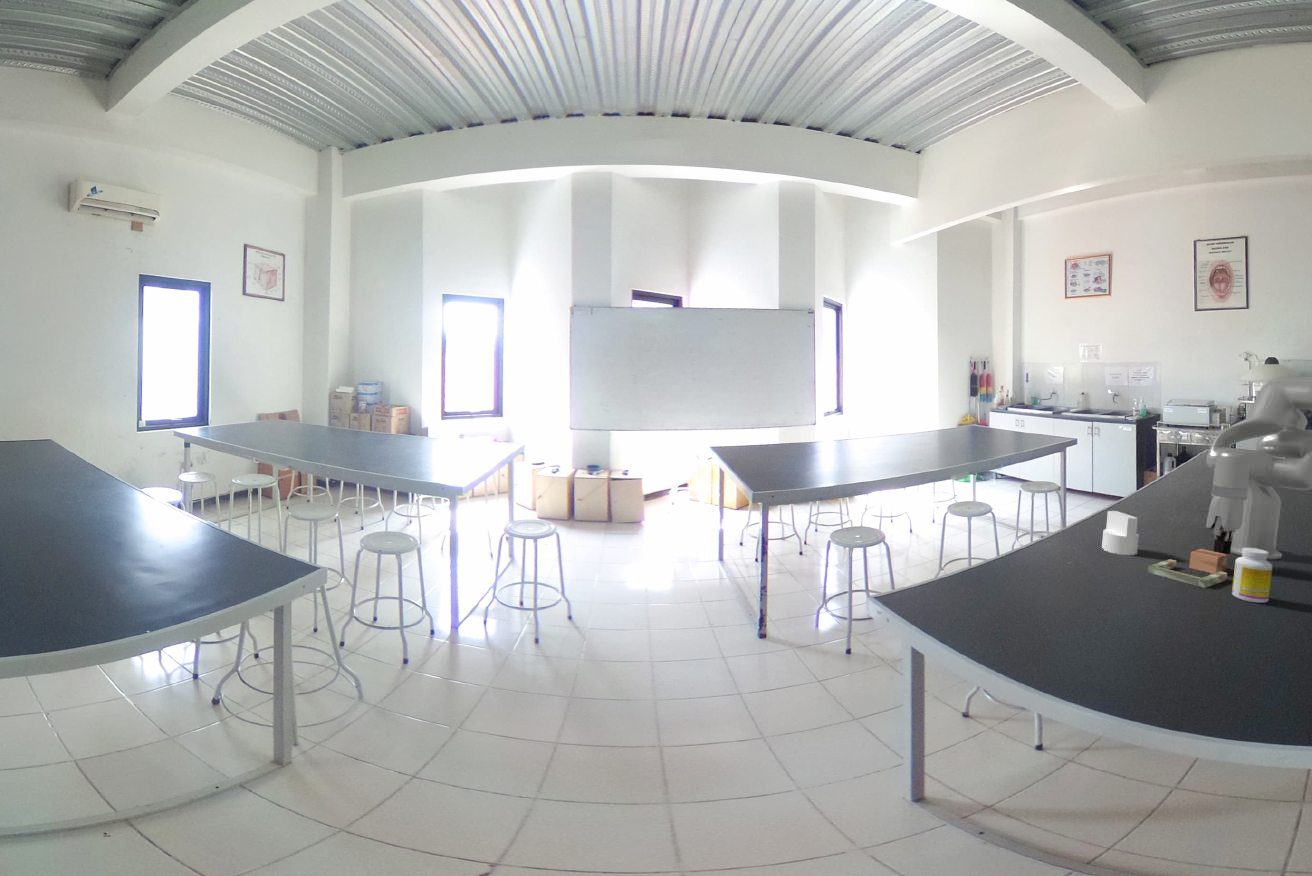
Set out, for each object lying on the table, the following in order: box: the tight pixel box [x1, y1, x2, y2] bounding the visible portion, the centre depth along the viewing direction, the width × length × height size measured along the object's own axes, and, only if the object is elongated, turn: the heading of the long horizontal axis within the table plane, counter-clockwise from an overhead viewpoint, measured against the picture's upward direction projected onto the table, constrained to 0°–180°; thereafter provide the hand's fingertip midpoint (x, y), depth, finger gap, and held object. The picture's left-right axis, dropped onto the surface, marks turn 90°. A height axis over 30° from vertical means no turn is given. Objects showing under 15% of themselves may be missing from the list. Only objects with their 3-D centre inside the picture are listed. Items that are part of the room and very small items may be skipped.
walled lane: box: [1147, 559, 1228, 588], centre depth 164 cm, size 12×13×2 cm
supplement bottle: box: [1231, 548, 1273, 604], centre depth 148 cm, size 7×7×13 cm
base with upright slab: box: [1101, 510, 1140, 556], centre depth 186 cm, size 9×9×12 cm
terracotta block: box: [1188, 548, 1228, 575], centre depth 169 cm, size 6×6×5 cm
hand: (1221, 552), depth 173 cm, fingers closed
